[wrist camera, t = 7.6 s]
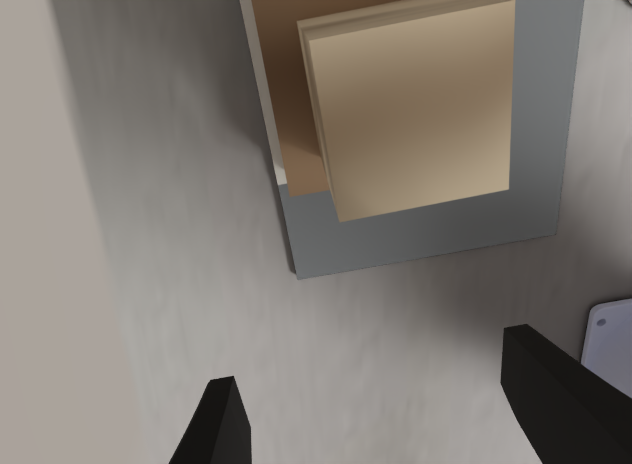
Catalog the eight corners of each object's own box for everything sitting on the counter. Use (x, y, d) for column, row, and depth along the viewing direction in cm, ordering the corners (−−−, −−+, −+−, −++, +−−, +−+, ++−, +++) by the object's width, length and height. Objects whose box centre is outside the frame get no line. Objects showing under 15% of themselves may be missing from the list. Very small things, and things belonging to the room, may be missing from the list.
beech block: (445, 133, 17) (508, 189, 12) (320, 157, 17) (339, 222, 12) (440, -8, 14) (515, -1, 10) (296, 21, 14) (308, 40, 10)
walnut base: (452, 143, 19) (476, 164, 17) (287, 171, 19) (289, 197, 17) (452, -52, 16) (481, -56, 14) (251, -17, 16) (248, -16, 14)
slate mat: (551, 230, 23) (557, 235, 22) (297, 275, 22) (297, 281, 22) (592, -128, 16) (601, -130, 15) (226, -65, 16) (225, -66, 15)
